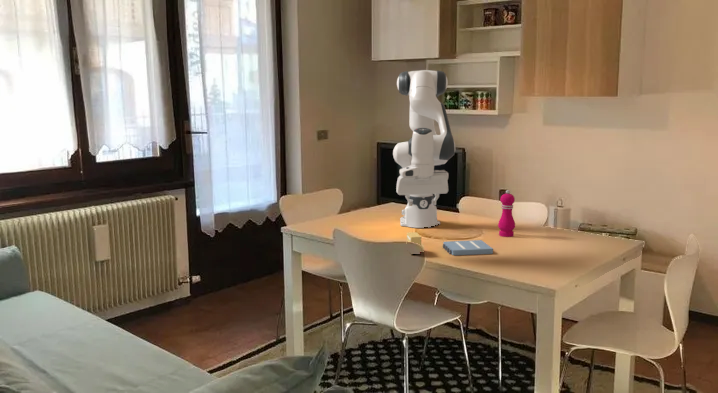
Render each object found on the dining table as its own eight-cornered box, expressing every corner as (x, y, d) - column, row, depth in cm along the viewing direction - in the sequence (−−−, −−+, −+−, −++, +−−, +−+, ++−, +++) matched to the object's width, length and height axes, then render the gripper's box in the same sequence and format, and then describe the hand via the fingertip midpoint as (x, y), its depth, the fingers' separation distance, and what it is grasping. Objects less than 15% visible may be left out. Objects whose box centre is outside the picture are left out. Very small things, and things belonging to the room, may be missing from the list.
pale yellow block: (406, 249, 265) (406, 232, 264) (416, 249, 265) (416, 232, 264) (410, 254, 257) (411, 237, 256) (421, 254, 258) (421, 236, 256)
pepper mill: (494, 234, 290) (496, 189, 287) (508, 232, 293) (510, 188, 289) (503, 237, 284) (505, 191, 280) (518, 236, 286) (519, 190, 282)
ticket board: (441, 246, 270) (441, 241, 270) (481, 244, 272) (481, 239, 272) (451, 255, 256) (451, 250, 256) (492, 253, 259) (492, 248, 258)
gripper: (446, 168, 262) (445, 202, 264) (395, 169, 259) (395, 204, 262) (450, 170, 255) (450, 206, 258) (398, 172, 253) (398, 207, 256)
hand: (422, 205), depth 260 cm, fingers open, 8 cm apart
